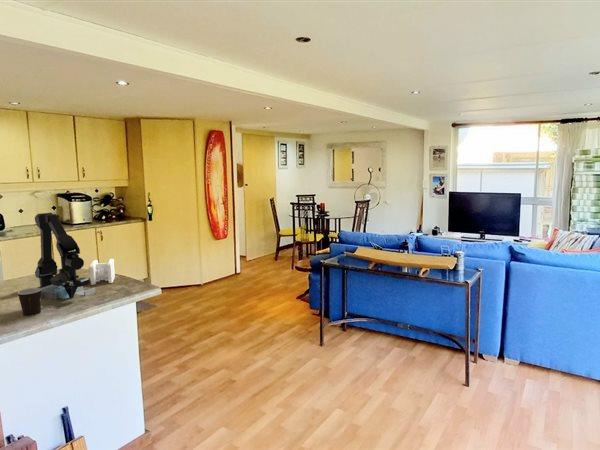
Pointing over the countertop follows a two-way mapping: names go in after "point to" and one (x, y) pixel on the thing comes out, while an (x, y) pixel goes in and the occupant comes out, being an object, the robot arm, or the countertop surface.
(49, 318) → the countertop surface
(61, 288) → the light blue block
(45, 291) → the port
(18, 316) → the countertop surface
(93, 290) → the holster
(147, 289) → the countertop surface
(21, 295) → the coffee mug
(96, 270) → the cable organizer
